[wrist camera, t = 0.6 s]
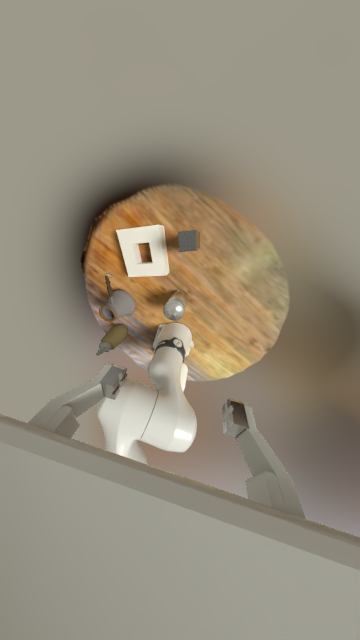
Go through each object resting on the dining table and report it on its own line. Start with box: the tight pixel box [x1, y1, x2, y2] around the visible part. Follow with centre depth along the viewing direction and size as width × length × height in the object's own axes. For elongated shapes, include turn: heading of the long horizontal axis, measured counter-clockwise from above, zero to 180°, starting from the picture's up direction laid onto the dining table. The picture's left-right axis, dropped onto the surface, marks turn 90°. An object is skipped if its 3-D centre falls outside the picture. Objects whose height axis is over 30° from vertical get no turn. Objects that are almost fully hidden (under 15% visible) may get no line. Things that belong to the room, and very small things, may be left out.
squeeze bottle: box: [97, 324, 128, 355], centre depth 60 cm, size 8×8×18 cm
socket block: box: [116, 225, 169, 277], centre depth 45 cm, size 14×14×4 cm
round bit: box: [163, 290, 188, 320], centre depth 48 cm, size 7×7×12 cm
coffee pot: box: [99, 273, 136, 322], centre depth 50 cm, size 21×12×15 cm, turn 158°
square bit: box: [178, 230, 200, 252], centre depth 36 cm, size 4×4×14 cm
